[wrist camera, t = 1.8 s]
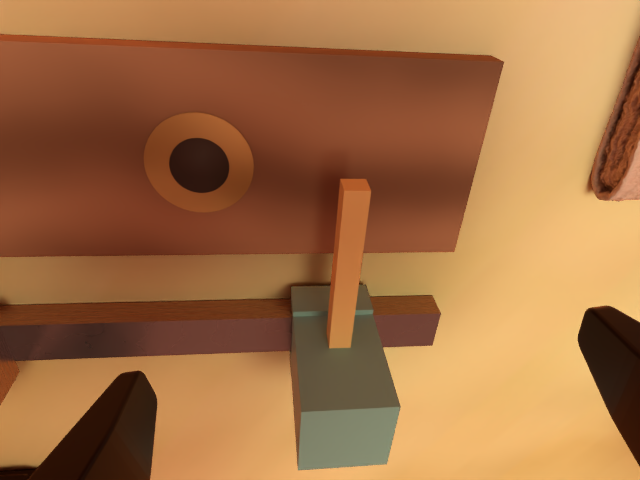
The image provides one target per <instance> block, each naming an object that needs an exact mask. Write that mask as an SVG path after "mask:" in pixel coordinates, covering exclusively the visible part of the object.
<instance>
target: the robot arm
mask: <svg viewBox="0 0 640 480" xmlns="http://www.w3.org/2000/svg"><path fill="white" fill-rule="evenodd" d="M578 343H579V347H580V349H581V352H582V354H583V356H584V358H585V360H586V363H587V365H588V367H589V369H590V372H591V374H592V376H593V378H594V381H595V383H596V385H597V387H598V389H599V392H600V394H601V396H602V398H603V401H604V403H605V405H606V407H607V409H608V411H609V413H610V415H611V417H612V419H613V421H614V423H615V425H616V427H617V428H618V430H619V432H620V434H621V435H622V437H623V439H624V440H625V442H626V444H627V446H628V447H629V449H630V451H631V452H632V454H633V456H634V458H635V459H636V461H637V463H638V464H639V466H640V322H638V321H637V320H635V319H633V318H631V317H629V316H628V315H626V314H624V313H622V312H621V311H619V310H617V309H615V308H613V307H611V306H599V307H592V308H588V309H587V310H586V311H585V314H584V317H583V320H582V324H581V327H580V330H579V334H578ZM156 413H157V398H156V394H155V392H154V390H153V389H152V387H151V385H150V383H149V381H148V380H147V378H146V376H145V374H144V373H143V372H141V371H133V372H125V373H122V374H120V375H119V376H118V377H117V378H116V379H115V380H114V381H113V382H112V383H111V385H110V386H109V387H108V388H107V389H106V390H105V391H104V393H103V394H102V395H101V396H100V397H99V398H98V399H97V401H96V402H95V403H94V404H93V405H92V406H91V407H90V409H89V410H88V411H87V412H86V413H85V414H84V415H83V417H82V418H81V419H80V420H79V421H78V422H77V423H76V425H75V426H74V427H73V428H72V429H71V430H70V431H69V433H68V434H67V435H66V436H65V437H64V438H63V439H62V441H61V442H60V443H59V444H58V445H57V446H56V447H55V449H54V450H53V451H52V452H51V453H50V454H49V456H48V457H47V458H46V459H45V460H44V461H43V462H42V464H41V465H40V466H39V467H38V468H37V469H36V470H22V471H6V472H0V480H150V475H151V467H152V456H153V445H154V434H155V423H156Z"/></svg>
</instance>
